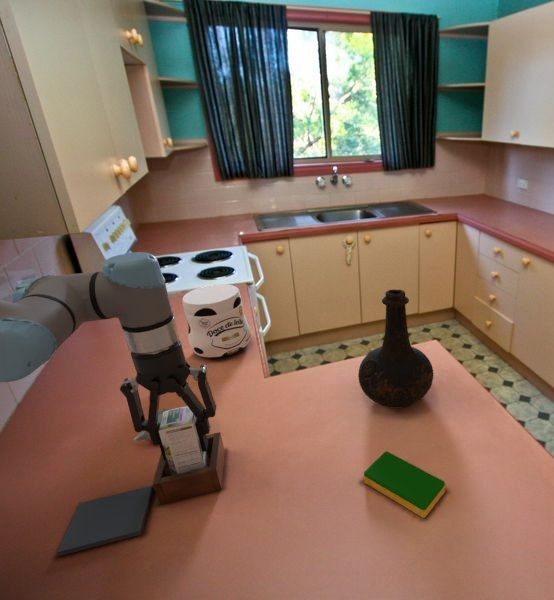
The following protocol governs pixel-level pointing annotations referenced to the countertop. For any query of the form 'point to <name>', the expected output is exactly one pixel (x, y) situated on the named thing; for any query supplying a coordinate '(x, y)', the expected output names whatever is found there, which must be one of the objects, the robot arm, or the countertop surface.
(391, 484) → the dish sponge
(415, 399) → the glass bottle
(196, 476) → the holder
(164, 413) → the syrup box
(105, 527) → the mat
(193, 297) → the doce de leite jar
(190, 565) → the countertop surface
